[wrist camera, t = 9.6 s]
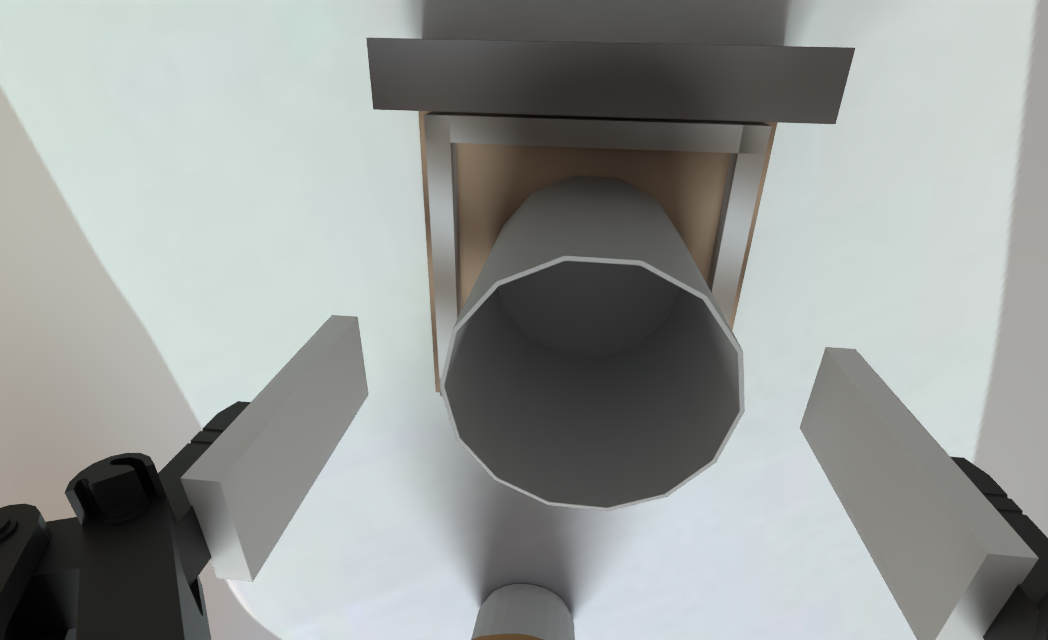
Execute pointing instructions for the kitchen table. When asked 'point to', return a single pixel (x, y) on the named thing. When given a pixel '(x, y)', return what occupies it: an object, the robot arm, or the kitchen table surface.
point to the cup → (592, 353)
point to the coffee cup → (523, 615)
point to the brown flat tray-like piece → (596, 139)
